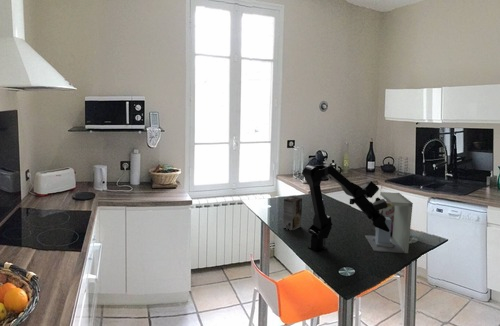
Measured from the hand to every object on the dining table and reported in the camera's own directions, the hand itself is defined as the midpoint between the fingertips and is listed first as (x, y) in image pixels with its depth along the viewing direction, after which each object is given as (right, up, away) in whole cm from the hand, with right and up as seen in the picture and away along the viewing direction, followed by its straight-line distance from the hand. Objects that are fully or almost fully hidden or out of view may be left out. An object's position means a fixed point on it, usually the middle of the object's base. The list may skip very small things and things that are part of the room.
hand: (386, 228), depth 177 cm
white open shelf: (0, -8, +1) cm, 8 cm away
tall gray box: (-2, -7, +1) cm, 8 cm away
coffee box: (-43, -4, +23) cm, 49 cm away
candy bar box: (+7, -5, +20) cm, 22 cm away
